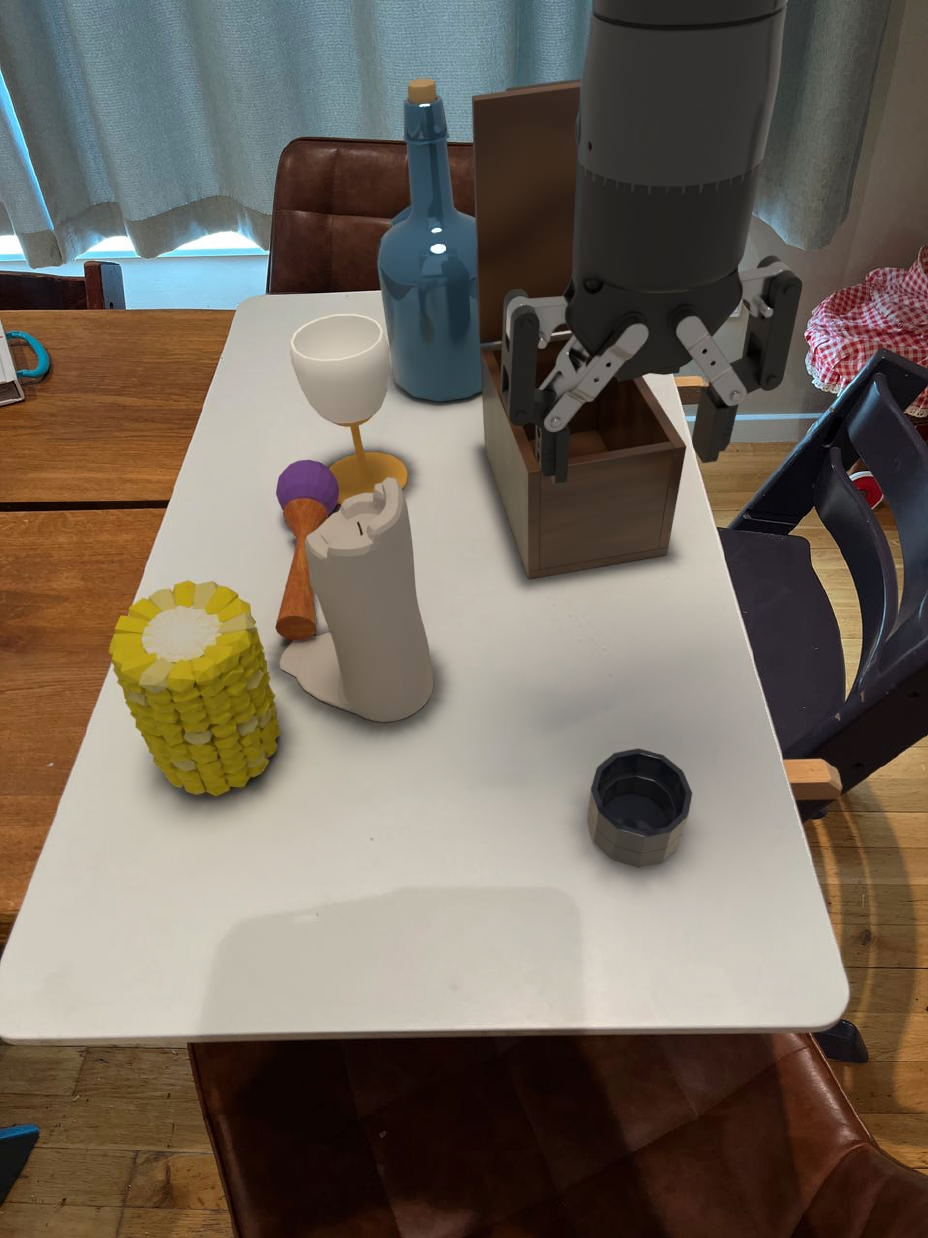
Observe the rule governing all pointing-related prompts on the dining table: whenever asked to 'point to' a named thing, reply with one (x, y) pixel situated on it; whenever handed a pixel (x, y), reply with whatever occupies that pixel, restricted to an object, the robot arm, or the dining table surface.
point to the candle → (365, 611)
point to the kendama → (303, 539)
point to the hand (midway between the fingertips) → (630, 464)
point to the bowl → (638, 807)
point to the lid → (523, 195)
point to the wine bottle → (431, 267)
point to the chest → (586, 474)
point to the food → (197, 685)
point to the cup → (347, 390)
